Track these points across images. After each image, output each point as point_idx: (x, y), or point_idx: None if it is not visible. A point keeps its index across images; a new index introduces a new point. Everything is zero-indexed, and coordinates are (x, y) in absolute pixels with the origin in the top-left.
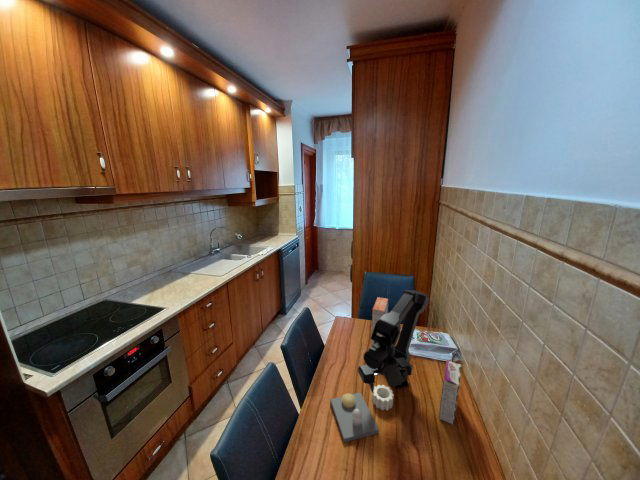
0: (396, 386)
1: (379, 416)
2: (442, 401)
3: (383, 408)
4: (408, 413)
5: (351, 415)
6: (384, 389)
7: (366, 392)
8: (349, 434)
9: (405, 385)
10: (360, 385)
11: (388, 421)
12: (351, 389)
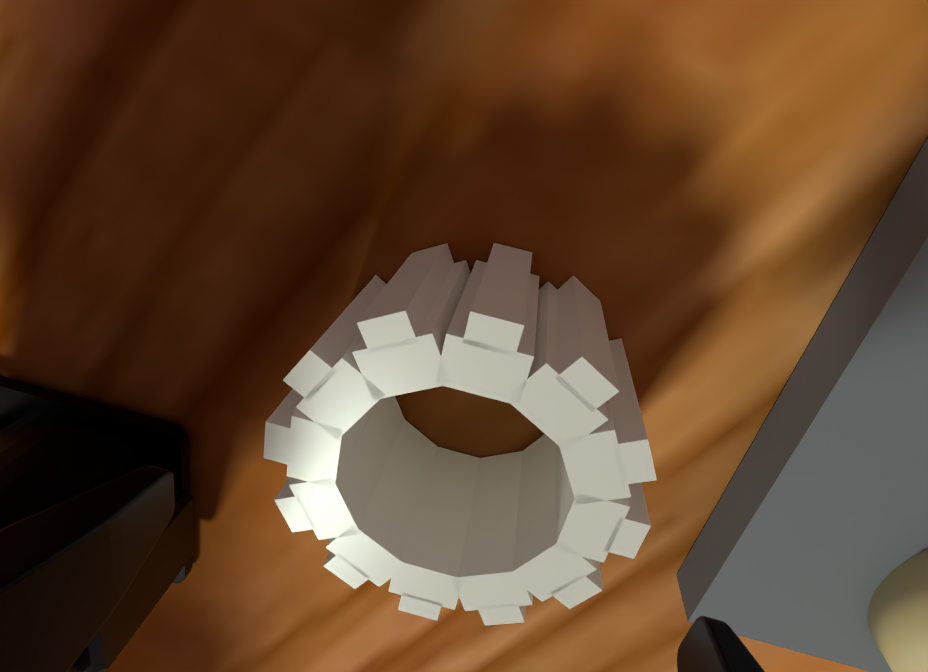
0: (157, 446)
1: (709, 229)
2: None
3: (575, 290)
4: (239, 34)
5: None
6: (371, 513)
7: None
8: None
9: (32, 400)
10: (562, 650)
11: (654, 81)
12: None
